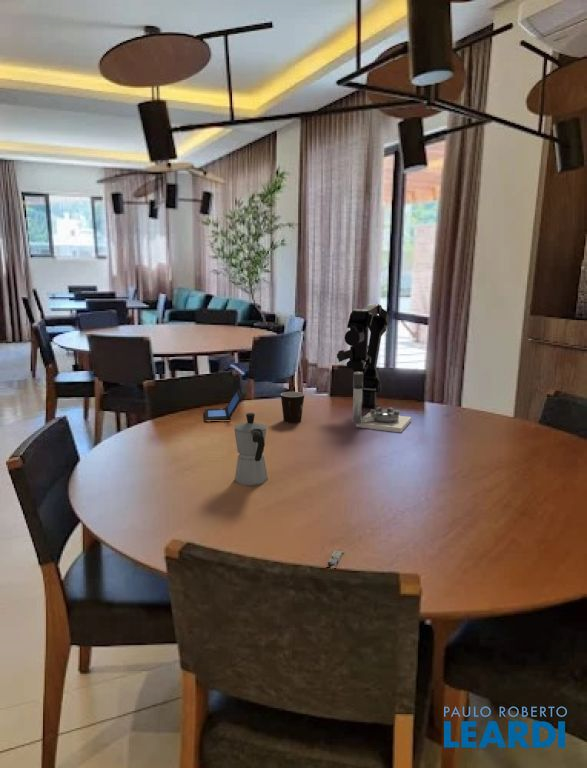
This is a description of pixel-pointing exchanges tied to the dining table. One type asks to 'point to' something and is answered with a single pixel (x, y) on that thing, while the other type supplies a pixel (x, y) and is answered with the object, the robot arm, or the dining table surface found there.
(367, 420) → the grey l-shaped piece
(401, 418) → the base plate
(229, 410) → the handheld game console
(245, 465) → the coffee maker
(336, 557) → the granola bar
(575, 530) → the dining table surface
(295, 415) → the dark brown coffee cup
